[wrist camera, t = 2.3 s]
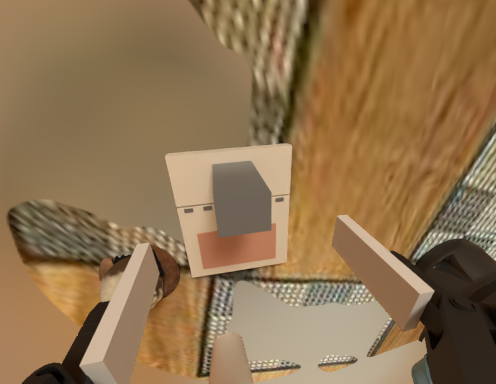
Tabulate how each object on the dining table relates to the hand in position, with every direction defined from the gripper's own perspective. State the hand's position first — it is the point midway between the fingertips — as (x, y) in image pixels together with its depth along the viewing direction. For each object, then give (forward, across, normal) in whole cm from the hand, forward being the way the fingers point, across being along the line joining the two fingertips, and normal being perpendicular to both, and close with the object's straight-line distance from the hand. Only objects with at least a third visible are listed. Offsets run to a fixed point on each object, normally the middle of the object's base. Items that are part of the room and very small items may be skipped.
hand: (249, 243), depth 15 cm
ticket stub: (+16, 0, 0) cm, 16 cm away
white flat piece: (+16, 0, +11) cm, 19 cm away
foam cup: (+16, +4, +39) cm, 42 cm away
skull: (+16, +16, +16) cm, 28 cm away
